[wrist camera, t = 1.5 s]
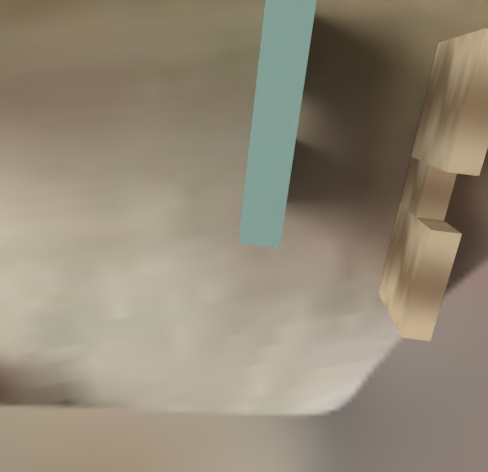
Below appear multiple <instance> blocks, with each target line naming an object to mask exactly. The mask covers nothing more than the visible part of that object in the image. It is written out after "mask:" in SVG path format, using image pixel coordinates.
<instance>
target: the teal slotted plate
mask: <svg viewBox="0 0 488 472" xmlns="http://www.w3.org/2000/svg"><path fill="white" fill-rule="evenodd" d="M316 1H317V0H266V3H265V12H264V20H263V29H262V38H261V47H260V56H259V64H258V73H257V82H256V91H255V100H254V108H253V117H252V126H251V135H250V144H249V152H248V161H247V170H246V179H245V187H244V196H243V205H242V214H241V223H240V231H239V240H238V243H242V244H250V245H258V246H266V247H274V248H280V243H281V237H282V230H283V223H284V216H285V210H286V203H287V196H288V190H289V183H290V176H291V169H292V163H293V156H294V149H295V142H296V136H297V129H298V122H299V116H300V109H301V102H302V95H303V89H304V82H305V75H306V69H307V62H308V55H309V48H310V42H311V35H312V28H313V22H314V15H315V8H316Z"/></svg>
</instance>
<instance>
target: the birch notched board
mask: <svg viewBox="0 0 488 472" xmlns="http://www.w3.org/2000/svg"><path fill="white" fill-rule="evenodd" d="M487 148H488V28H485V29H482V30H478V31H475V32H472V33H469V34H466V35H462V36H459V37H456V38H453V39H449V40H446V41H443V42H440V43H438V47H437V51H436V55H435V59H434V63H433V67H432V72H431V76H430V80H429V84H428V88H427V92H426V97H425V101H424V105H423V109H422V113H421V117H420V122H419V126H418V130H417V134H416V138H415V142H414V147H413V151H412V155H411V159H410V163H409V167H408V172H407V176H406V180H405V184H404V188H403V192H402V197H401V201H400V205H399V209H398V213H397V217H396V222H395V226H394V230H393V234H392V238H391V242H390V247H389V251H388V255H387V259H386V263H385V267H384V272H383V276H382V280H381V284H380V288H379V292H378V294H379V296H380V298H381V299H382V301H383V303H384V305H385V307H386V309H387V311H388V312H389V314H390V316H391V318H392V320H393V322H394V324H395V325H396V327H397V329H398V331H399V333H400V335H401V337H402V338H409V339H417V340H425V341H430V340H431V337H432V333H433V330H434V327H435V323H436V320H437V316H438V313H439V310H440V307H441V303H442V300H443V296H444V293H445V290H446V286H447V283H448V280H449V276H450V273H451V270H452V266H453V263H454V259H455V256H456V253H457V249H458V246H459V243H460V239H461V236H462V234H461V233H460V232H459V231H457V230H456V229H455V228H453V227H452V226H451V225H449V224H448V223H446V222H445V221H444V219H445V215H446V212H447V208H448V205H449V201H450V198H451V194H452V190H453V187H454V183H455V180H456V176H457V173H458V174H466V175H474V176H479V175H480V172H481V169H482V165H483V162H484V158H485V155H486V152H487Z"/></svg>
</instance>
